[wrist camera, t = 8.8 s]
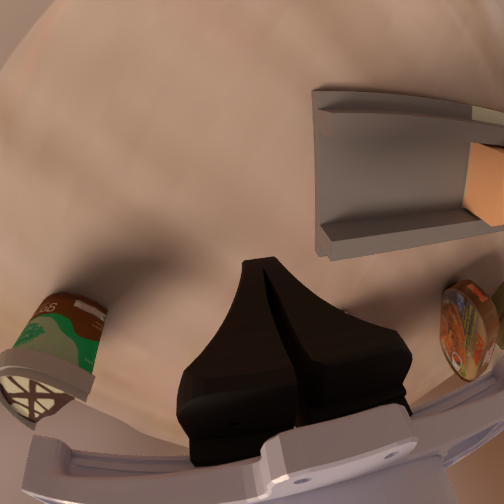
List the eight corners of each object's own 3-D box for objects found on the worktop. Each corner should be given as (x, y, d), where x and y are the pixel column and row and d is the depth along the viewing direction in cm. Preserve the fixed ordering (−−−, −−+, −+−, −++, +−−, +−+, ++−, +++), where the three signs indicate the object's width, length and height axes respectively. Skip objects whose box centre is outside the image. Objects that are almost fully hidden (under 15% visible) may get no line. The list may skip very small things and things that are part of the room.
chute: (496, 222, 25) (516, 237, 22) (315, 250, 24) (329, 275, 21) (512, 115, 19) (537, 123, 16) (311, 90, 17) (331, 92, 14)
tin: (441, 274, 27) (487, 326, 20) (462, 261, 27) (509, 309, 20) (437, 351, 35) (465, 395, 28) (454, 340, 35) (483, 382, 27)
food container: (63, 254, 21) (8, 344, 12) (117, 301, 24) (89, 400, 15) (13, 321, 24) (-23, 395, 15) (57, 355, 27) (32, 432, 18)
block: (499, 202, 22) (526, 220, 19) (462, 206, 22) (491, 226, 18) (508, 145, 19) (538, 158, 16) (471, 140, 19) (505, 154, 15)
